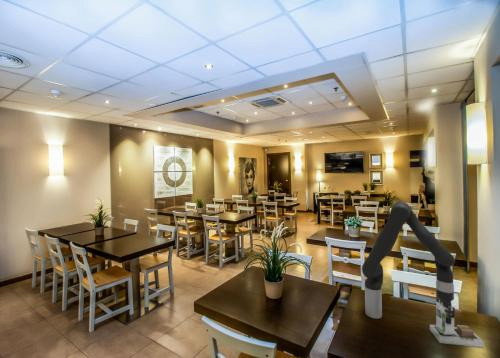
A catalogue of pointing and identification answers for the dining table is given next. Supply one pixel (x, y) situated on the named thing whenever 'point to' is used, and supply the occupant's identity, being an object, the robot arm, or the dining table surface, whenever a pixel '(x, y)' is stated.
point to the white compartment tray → (456, 338)
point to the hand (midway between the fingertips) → (445, 320)
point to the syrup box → (443, 320)
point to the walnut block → (465, 331)
